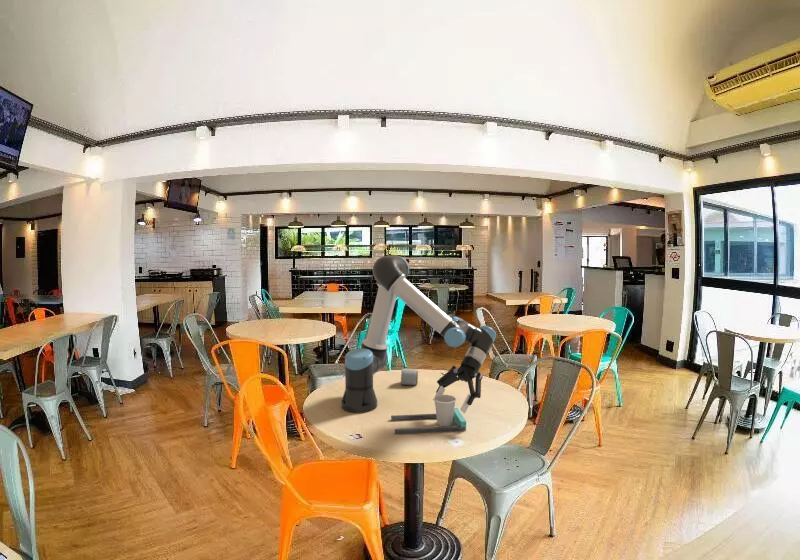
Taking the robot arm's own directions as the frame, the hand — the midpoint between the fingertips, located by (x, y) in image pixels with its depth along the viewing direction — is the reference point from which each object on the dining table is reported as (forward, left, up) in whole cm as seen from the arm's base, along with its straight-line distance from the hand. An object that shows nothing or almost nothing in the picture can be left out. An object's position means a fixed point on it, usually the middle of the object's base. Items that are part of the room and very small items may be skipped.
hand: (448, 406), depth 168 cm
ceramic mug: (-28, +41, -7) cm, 50 cm away
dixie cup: (-1, -1, -7) cm, 7 cm away
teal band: (+4, +1, -7) cm, 8 cm away
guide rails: (-7, -4, -7) cm, 11 cm away
